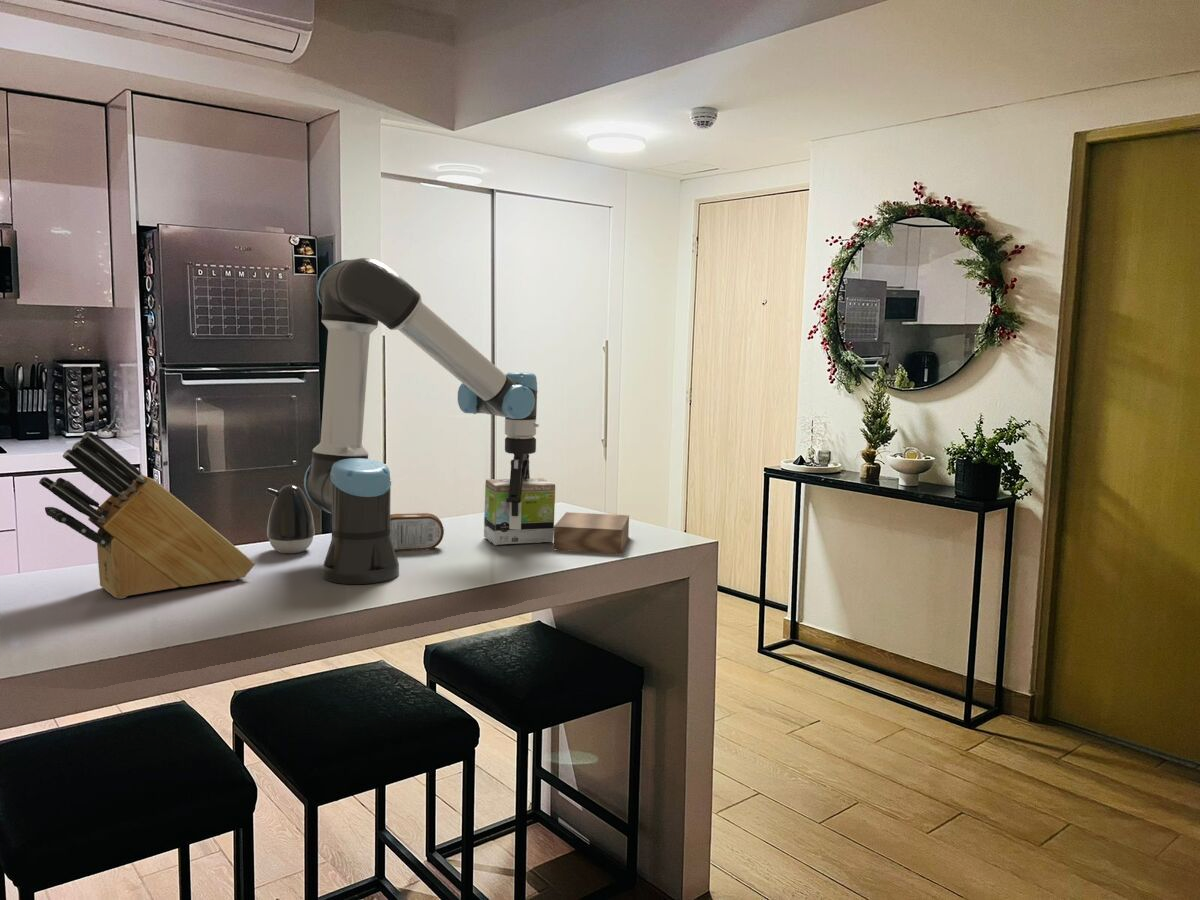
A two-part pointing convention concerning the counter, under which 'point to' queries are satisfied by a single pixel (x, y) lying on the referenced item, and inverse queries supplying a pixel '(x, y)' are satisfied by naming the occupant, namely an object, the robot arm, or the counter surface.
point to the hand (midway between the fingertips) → (519, 523)
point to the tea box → (533, 512)
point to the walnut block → (591, 532)
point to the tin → (415, 531)
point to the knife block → (142, 527)
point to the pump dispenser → (290, 520)
